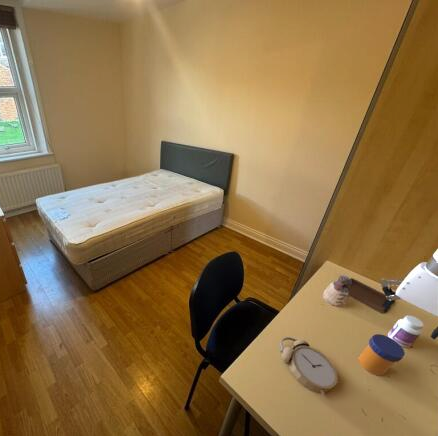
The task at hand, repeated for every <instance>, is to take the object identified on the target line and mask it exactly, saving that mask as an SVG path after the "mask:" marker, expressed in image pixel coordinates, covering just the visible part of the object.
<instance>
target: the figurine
mask: <svg viewBox="0 0 438 436" xmlns="http://www.w3.org/2000/svg"><path fill="white" fill-rule="evenodd" d="M350 279H351V278H350V277H349V276H347V275H339V277H338V278H337V280H336V281H331V283H329V284H328V286H327V287H326V288H325V290H323V294H322V297H323V300H325V302H327V303H328V304H330V306H331V305H332V306H334V307H337V308H342V307H345V306H346V304H347V302H348V299H349V297H350V296H349V290H348V288H351V287H350V285H351V284H352V283H353V282H352V280H350Z"/></svg>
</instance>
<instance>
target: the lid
mask: <svg viewBox="0 0 438 436" xmlns="http://www.w3.org/2000/svg"><path fill="white" fill-rule="evenodd" d="M368 344H369V345H370V347H371V349H372V350H373V351H374V352H375V353H376V354H377V355H379V356H380V357H382V358H383V359H385V360H388V361H391V362H395V363H399V362H400V361H401V360H402V359H403V358H404V357H405V350H404V347H402V346H400V345H399V344H398V343H397V342H396V341H394V340H393V339H391V338H389V336H388V335H384V334H381V333H377V334H373V335H372V336H371V338H369V340H368Z"/></svg>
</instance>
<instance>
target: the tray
mask: <svg viewBox="0 0 438 436" xmlns="http://www.w3.org/2000/svg"><path fill="white" fill-rule="evenodd" d="M349 279H350V280H352V282H353V283H352V284H351V285H350V287H351V288H348V290H349V297H350V298H353V299H354V300H357V301H358V302H360V303H363V304H364V305H366V306H367V307H369V308H371V309H373V310H374V311H376V312H378V313H380V314H383V313H384V312H383V310H384V308H385V307H383V306H382V305H383V303H384V302H385V301H386V295H385V293H384V292H381V291H379V290H377V289H375V288H373V287H371V286H369V285H367V284H365V283H363V282H361V281H359V280H357V279H356V278H353V277H350V278H349Z"/></svg>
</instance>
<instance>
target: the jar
mask: <svg viewBox="0 0 438 436" xmlns="http://www.w3.org/2000/svg"><path fill="white" fill-rule="evenodd" d="M357 359H358V363H359V364H360V366H361V367H362V368H363V369H364V370H365V371H367V372H368V373H370V374H371V375H373V376H374V375H375V376H379V377H381V376H384V375H385V374H386V373H387V371H389V370H390V369H391V368H392V367H393V366H394V365H395V363H396V362H391V361H388V360H385V359H383V358H382V357H380V356H379V355H377V354H376V353H375V352H374V351H373V350H372V349H371V347H370V345H369V343H368V344H367V346H366V347H365V348H364V349H363V350H362V351H361V353H360V354H359V355H358V357H357Z"/></svg>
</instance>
